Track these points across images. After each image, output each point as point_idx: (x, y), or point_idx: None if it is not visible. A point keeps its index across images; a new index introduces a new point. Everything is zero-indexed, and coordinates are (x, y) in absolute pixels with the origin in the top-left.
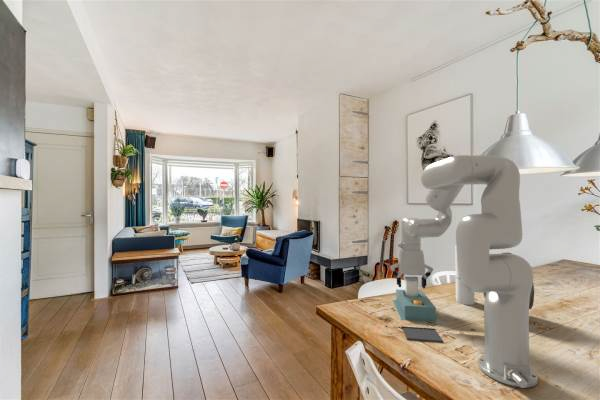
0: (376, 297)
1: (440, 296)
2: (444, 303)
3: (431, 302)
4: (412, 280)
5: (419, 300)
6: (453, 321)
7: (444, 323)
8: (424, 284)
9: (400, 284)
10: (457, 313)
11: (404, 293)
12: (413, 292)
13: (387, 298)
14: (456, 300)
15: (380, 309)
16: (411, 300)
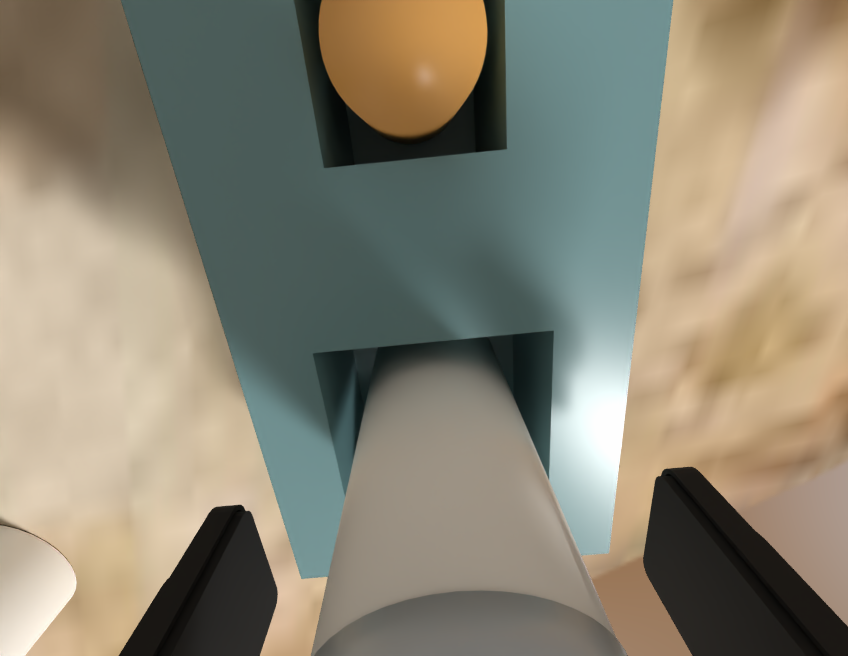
0: None
1: None
2: (157, 512)
3: (170, 151)
4: (473, 618)
5: (364, 91)
6: (50, 113)
7: None
8: (186, 573)
9: (709, 508)
10: (36, 333)
11: None
12: (432, 398)
13: None
14: (63, 571)
15: (750, 254)
16: (492, 167)
